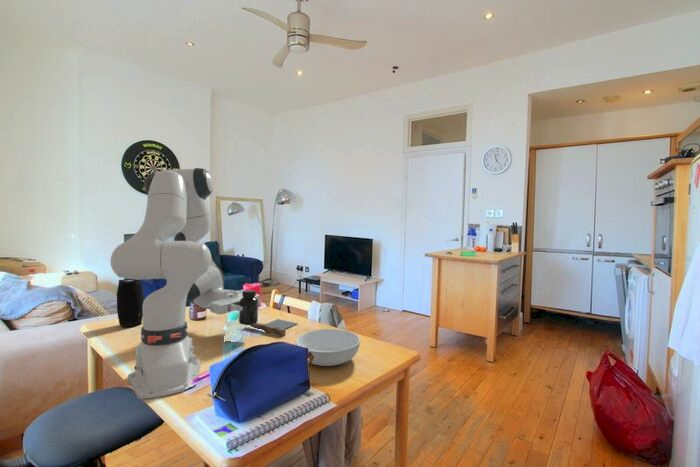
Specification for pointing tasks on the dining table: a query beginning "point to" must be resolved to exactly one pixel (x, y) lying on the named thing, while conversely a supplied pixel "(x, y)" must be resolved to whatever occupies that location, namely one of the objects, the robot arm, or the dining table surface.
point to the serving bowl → (330, 346)
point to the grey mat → (281, 324)
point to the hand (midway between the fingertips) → (250, 306)
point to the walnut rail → (270, 329)
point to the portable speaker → (130, 302)
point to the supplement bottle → (248, 308)
